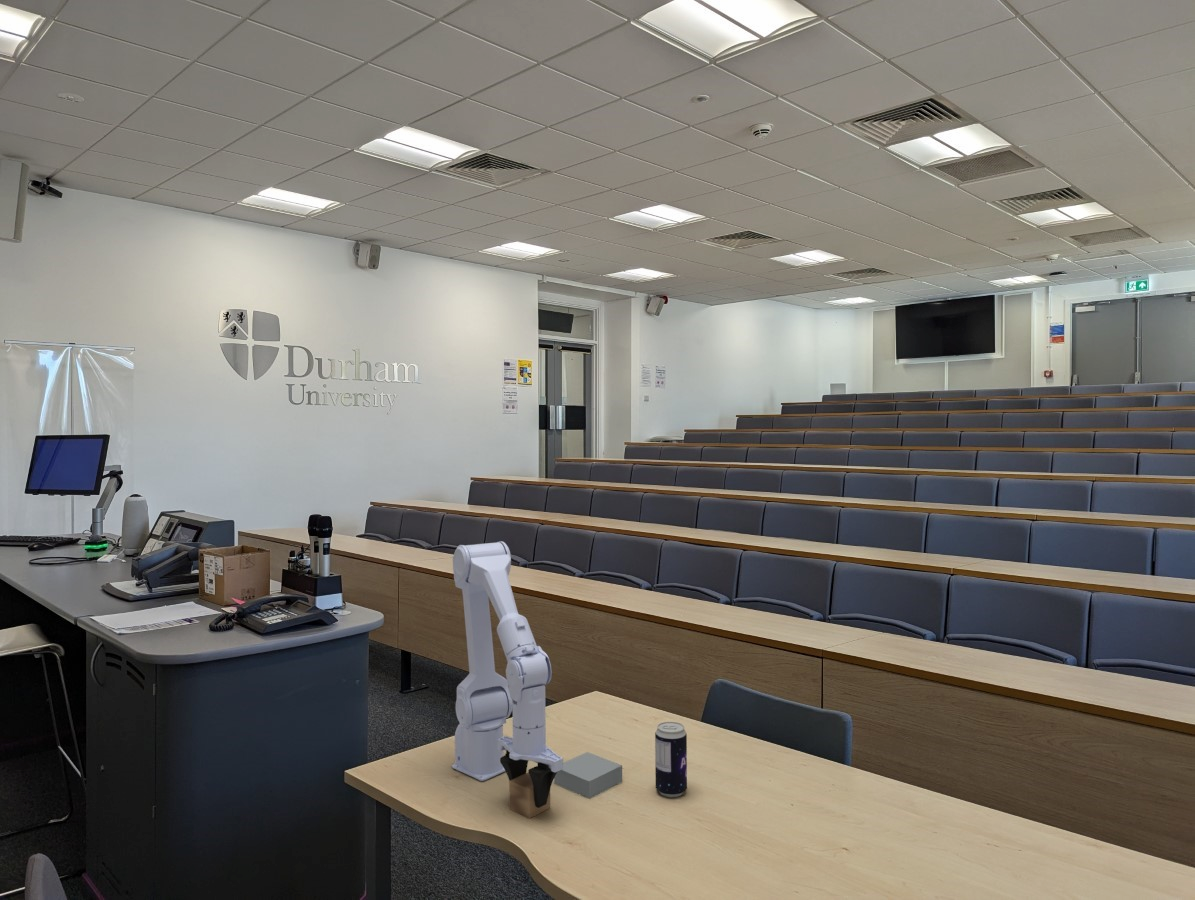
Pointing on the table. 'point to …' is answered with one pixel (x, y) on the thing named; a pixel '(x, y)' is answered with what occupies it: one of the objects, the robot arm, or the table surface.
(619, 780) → the grey block
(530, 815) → the walnut cube
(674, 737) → the beverage can
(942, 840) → the table surface
